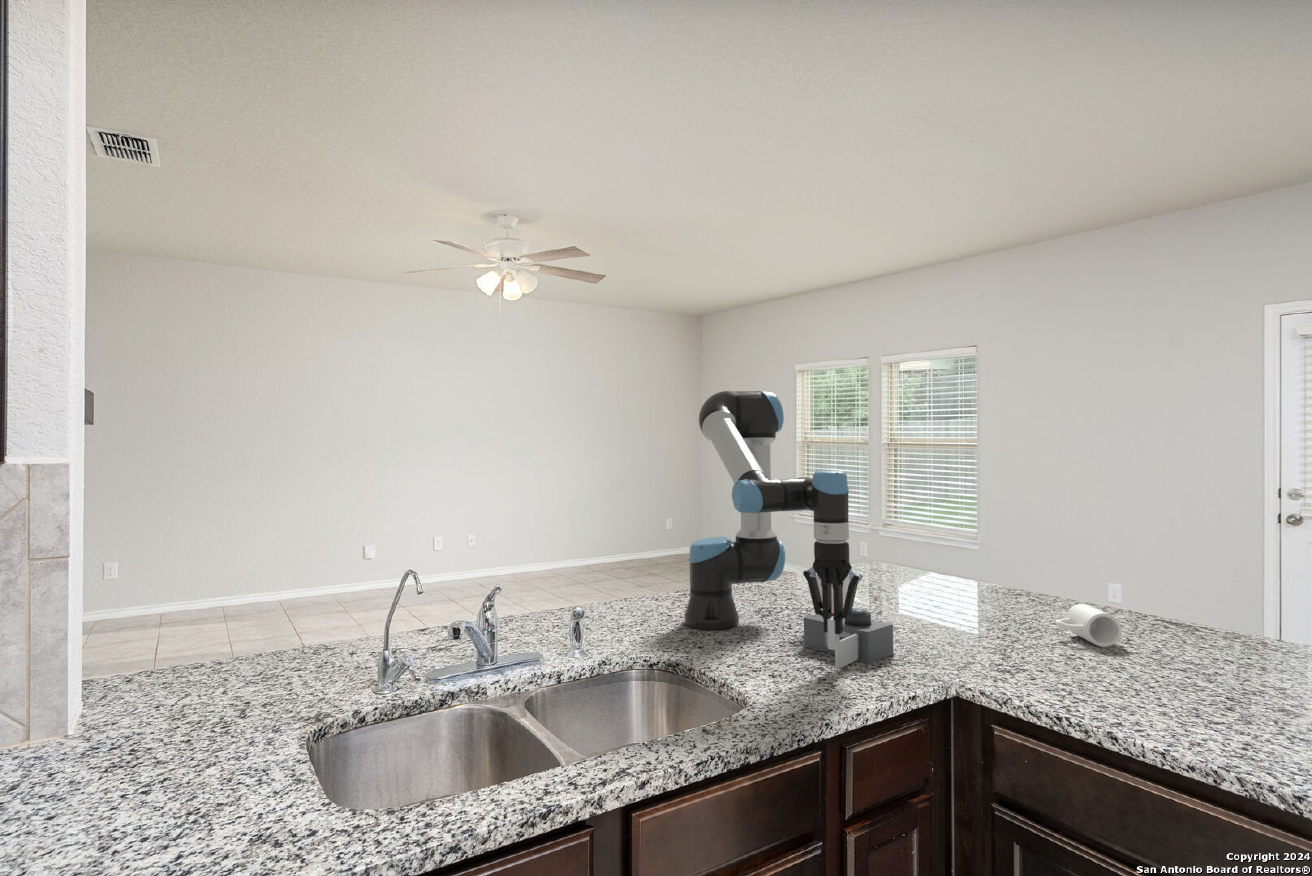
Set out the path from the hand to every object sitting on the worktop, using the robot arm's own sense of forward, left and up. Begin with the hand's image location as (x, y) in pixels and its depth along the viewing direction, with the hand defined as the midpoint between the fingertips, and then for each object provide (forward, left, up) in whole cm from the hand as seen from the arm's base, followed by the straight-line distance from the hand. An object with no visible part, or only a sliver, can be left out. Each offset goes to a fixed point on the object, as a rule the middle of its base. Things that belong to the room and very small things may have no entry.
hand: (833, 647), depth 148 cm
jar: (-19, +26, -4) cm, 33 cm away
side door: (+2, +3, -4) cm, 5 cm away
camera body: (-5, +12, -4) cm, 14 cm away
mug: (+29, +61, -5) cm, 68 cm away
